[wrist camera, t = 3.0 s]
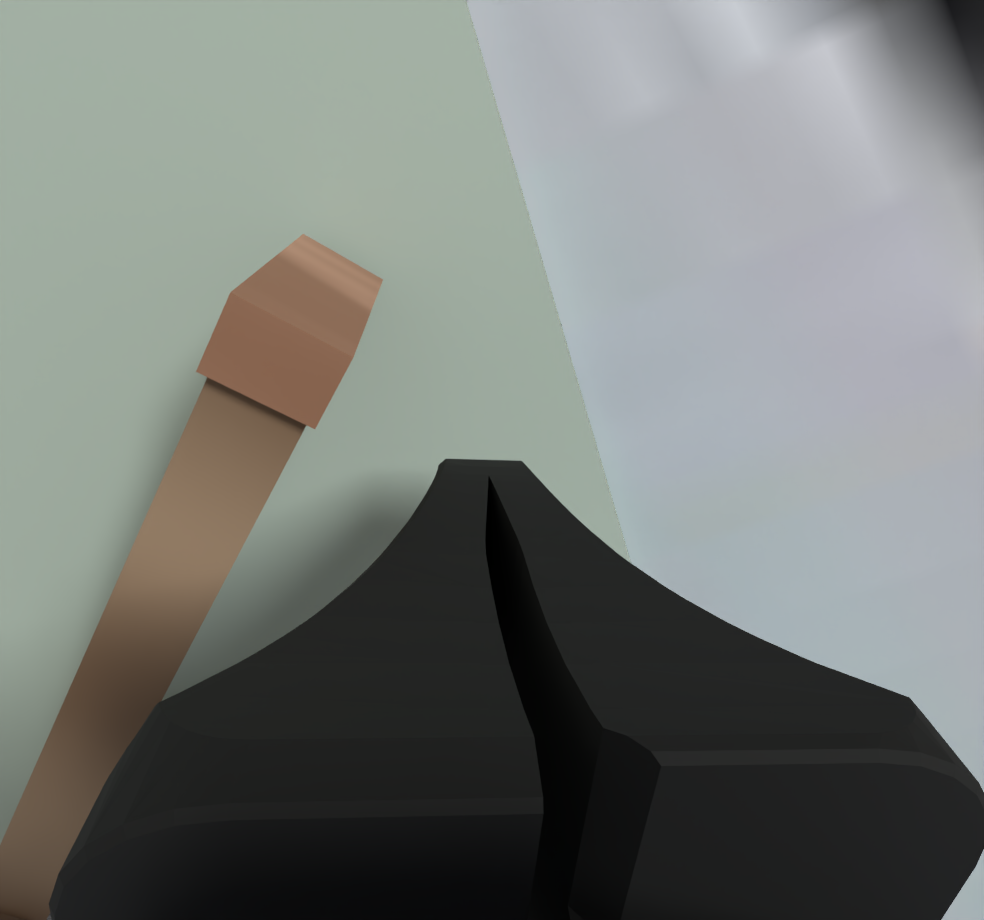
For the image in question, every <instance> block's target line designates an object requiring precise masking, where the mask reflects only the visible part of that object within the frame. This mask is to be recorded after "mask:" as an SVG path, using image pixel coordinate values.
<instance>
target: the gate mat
mask: <svg viewBox="0 0 984 920" xmlns="http://www.w3.org/2000/svg"><path fill="white" fill-rule="evenodd" d="M302 234H305V235H306V236H308V237H310V238H312V239H313V240H315V241H317V242H319V243H320V244H322V245H324V246H326V247H327V248H329V249H331V250H333V251H334V252H336V253H338V254H340V255H341V256H343V257H345V258H346V259H348V260H350V261H352V262H353V263H355V264H357V265H359V266H360V267H362V268H364V269H366V270H367V271H369V272H371V273H373V274H374V275H376V276H378V277H380V278H381V279H383V282H382V284H381V287H380V289H379V292H378V295H377V297H376V300H375V302H374V305H373V308H372V310H371V313H370V316H369V318H368V321H367V323H366V326H365V329H364V331H363V334H362V336H361V339H360V342H359V344H358V347H357V350H356V352H355V355H354V357H353V359H352V361H351V363H350V365H349V367H348V369H347V371H346V372H345V374H344V376H343V378H342V380H341V382H340V384H339V386H338V387H337V389H336V391H335V393H334V395H333V397H332V399H331V401H330V402H329V404H328V406H327V408H326V410H325V412H324V414H323V416H322V417H321V419H320V421H319V423H318V425H317V427H316V429H313V428H311V427H309V426H307V425H306V427H305V429H304V431H303V433H302V435H301V437H300V439H299V441H298V442H297V444H296V446H295V448H294V450H293V452H292V454H291V456H290V458H289V460H288V461H287V463H286V465H285V467H284V469H283V471H282V473H281V475H280V477H279V479H278V481H277V482H276V484H275V486H274V488H273V490H272V492H271V494H270V496H269V498H268V500H267V501H266V503H265V505H264V507H263V509H262V511H261V513H260V515H259V517H258V519H257V520H256V522H255V524H254V526H253V528H252V530H251V532H250V534H249V536H248V538H247V539H246V541H245V543H244V545H243V547H242V549H241V551H240V553H239V555H238V557H237V558H236V560H235V562H234V564H233V566H232V568H231V570H230V572H229V574H228V576H227V577H226V579H225V581H224V583H223V585H222V587H221V589H220V591H219V593H218V595H217V596H216V598H215V600H214V602H213V604H212V606H211V608H210V610H209V612H208V614H207V615H206V617H205V619H204V621H203V623H202V625H201V627H200V629H199V631H198V633H197V634H196V636H195V638H194V640H193V642H192V644H191V646H190V648H189V650H188V652H187V653H186V655H185V657H184V659H183V661H182V663H181V665H180V667H179V669H178V671H177V672H176V674H175V676H174V678H173V680H172V682H171V684H170V686H169V688H168V690H167V691H166V693H165V695H164V697H163V699H162V701H163V700H165V699H167V698H169V697H171V696H173V695H176V694H178V693H180V692H182V691H184V690H186V689H188V688H190V687H192V686H194V685H196V684H197V683H199V682H201V681H203V680H205V679H207V678H209V677H211V676H213V675H215V674H217V673H219V672H221V671H223V670H225V669H227V668H229V667H231V666H233V665H235V664H237V663H239V662H240V661H242V660H244V659H246V658H248V657H249V656H251V655H253V654H255V653H256V652H258V651H260V650H261V649H263V648H265V647H266V646H268V645H269V644H271V643H273V642H274V641H276V640H278V639H279V638H281V637H283V636H284V635H286V634H287V633H289V632H290V631H292V630H293V629H295V628H296V627H298V626H299V625H301V624H302V623H304V622H305V621H307V620H308V619H309V618H311V617H312V616H313V615H315V614H316V613H317V612H319V611H320V610H321V609H323V608H324V607H325V606H326V605H327V604H329V603H330V602H331V601H332V600H333V599H334V598H336V597H337V596H338V595H339V594H340V593H342V592H343V591H344V590H345V589H346V588H347V587H349V586H350V585H351V584H352V583H353V582H354V581H355V580H356V579H357V578H358V577H359V576H360V575H361V574H362V573H363V572H364V571H365V570H366V569H368V567H369V566H370V565H371V564H372V563H373V562H374V561H375V560H376V559H377V558H378V557H379V556H380V555H381V554H382V553H383V551H384V550H385V549H386V548H387V547H388V546H389V544H390V543H391V542H392V541H393V539H394V538H395V537H396V536H397V534H398V533H399V532H400V531H401V529H402V528H403V527H404V526H405V524H406V523H407V522H408V520H409V519H410V518H411V516H412V515H413V513H414V511H415V510H416V508H417V507H418V505H419V504H420V502H421V501H422V499H423V498H424V496H425V494H426V493H427V491H428V489H429V487H430V485H431V484H432V482H433V480H434V477H435V475H436V472H437V470H438V465H439V464H440V463H441V462H442V461H444V460H445V459H477V460H515V461H522V462H523V463H524V464H525V465H526V466H527V467H528V468H529V469H530V470H531V471H532V472H533V473H534V475H535V476H536V477H537V478H538V479H539V480H540V481H541V482H542V483H543V484H544V485H545V487H546V488H547V489H548V490H549V491H550V492H551V493H552V494H553V495H554V496H555V497H556V498H557V499H558V500H559V501H560V502H561V503H562V504H563V505H564V506H565V507H566V508H567V509H568V510H569V511H570V512H571V513H572V514H573V515H574V516H575V517H576V518H577V519H578V520H579V521H580V522H581V523H583V524H584V525H585V526H586V527H587V528H588V529H589V530H590V531H591V532H593V533H594V534H595V535H596V536H597V537H599V538H600V539H601V540H602V541H603V542H605V543H606V544H607V545H608V546H609V547H611V548H612V549H613V550H614V551H615V552H617V553H618V554H619V555H620V556H622V557H623V558H624V559H626V560H627V561H628V562H630V563H631V561H630V558H629V555H628V551H627V548H626V544H625V541H624V537H623V534H622V531H621V527H620V524H619V520H618V517H617V514H616V510H615V507H614V503H613V500H612V497H611V493H610V490H609V486H608V483H607V479H606V476H605V473H604V469H603V466H602V462H601V459H600V456H599V452H598V449H597V445H596V442H595V439H594V435H593V432H592V428H591V425H590V421H589V418H588V415H587V411H586V408H585V404H584V401H583V398H582V394H581V391H580V387H579V384H578V381H577V377H576V374H575V370H574V367H573V364H572V360H571V357H570V353H569V350H568V346H567V343H566V340H565V336H564V333H563V329H562V326H561V323H560V319H559V316H558V312H557V309H556V306H555V302H554V299H553V295H552V292H551V288H550V285H549V282H548V278H547V275H546V271H545V268H544V265H543V261H542V258H541V254H540V251H539V248H538V244H537V241H536V237H535V234H534V230H533V227H532V224H531V220H530V217H529V213H528V210H527V207H526V203H525V200H524V196H523V193H522V190H521V186H520V183H519V179H518V176H517V172H516V169H515V166H514V162H513V159H512V155H511V152H510V149H509V145H508V142H507V138H506V135H505V132H504V128H503V125H502V121H501V118H500V115H499V111H498V108H497V104H496V101H495V97H494V94H493V91H492V87H491V84H490V80H489V77H488V74H487V70H486V67H485V63H484V60H483V57H482V53H481V50H480V46H479V43H478V39H477V36H476V33H475V29H474V26H473V22H472V19H471V16H470V12H469V9H468V5H467V2H466V0H0V844H1V842H2V840H3V837H4V835H5V833H6V831H7V828H8V826H9V824H10V821H11V819H12V817H13V815H14V812H15V810H16V808H17V806H18V803H19V801H20V799H21V797H22V794H23V792H24V790H25V788H26V785H27V783H28V781H29V779H30V776H31V774H32V772H33V770H34V767H35V765H36V763H37V761H38V758H39V756H40V754H41V752H42V749H43V747H44V745H45V742H46V740H47V738H48V736H49V733H50V731H51V729H52V727H53V724H54V722H55V720H56V718H57V715H58V713H59V711H60V709H61V706H62V704H63V702H64V700H65V697H66V695H67V693H68V691H69V688H70V686H71V684H72V682H73V679H74V677H75V675H76V673H77V670H78V668H79V666H80V663H81V661H82V659H83V657H84V654H85V652H86V650H87V648H88V645H89V643H90V641H91V639H92V636H93V634H94V632H95V630H96V627H97V625H98V623H99V621H100V618H101V616H102V614H103V612H104V609H105V607H106V605H107V603H108V600H109V598H110V596H111V594H112V591H113V589H114V587H115V584H116V582H117V580H118V578H119V575H120V573H121V571H122V569H123V566H124V564H125V562H126V560H127V557H128V555H129V553H130V551H131V548H132V546H133V544H134V542H135V539H136V537H137V535H138V533H139V530H140V528H141V526H142V524H143V521H144V519H145V517H146V514H147V512H148V510H149V508H150V505H151V503H152V501H153V499H154V496H155V494H156V492H157V490H158V487H159V485H160V483H161V481H162V478H163V476H164V474H165V472H166V469H167V467H168V465H169V463H170V460H171V458H172V456H173V454H174V451H175V449H176V447H177V445H178V442H179V440H180V438H181V435H182V433H183V431H184V429H185V426H186V424H187V422H188V420H189V417H190V415H191V413H192V411H193V408H194V406H195V404H196V402H197V399H198V397H199V395H200V393H201V390H202V388H203V386H204V384H205V381H206V379H207V377H206V376H204V375H202V374H200V373H198V372H196V370H197V368H198V366H199V363H200V361H201V359H202V356H203V354H204V352H205V349H206V347H207V345H208V343H209V340H210V338H211V336H212V333H213V331H214V329H215V326H216V324H217V322H218V319H219V317H220V315H221V313H222V310H223V308H224V306H225V303H226V301H227V299H228V296H229V294H230V292H231V291H233V290H234V289H235V288H236V287H238V286H239V285H240V284H241V283H243V282H244V281H245V280H246V279H248V278H249V277H250V276H251V275H253V274H254V273H255V272H256V271H257V270H259V269H260V268H261V267H262V266H264V265H265V264H266V263H267V262H269V261H270V260H271V259H272V258H274V257H275V256H276V255H277V254H279V253H280V252H281V251H282V250H284V249H285V248H286V247H287V246H289V245H290V244H291V243H292V242H294V241H295V240H296V239H297V238H299V237H300V236H301V235H302Z"/></svg>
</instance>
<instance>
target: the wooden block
mask: <svg viewBox="0 0 984 920" xmlns="http://www.w3.org/2000/svg"><path fill="white" fill-rule="evenodd" d="M382 282H383V279H381V278H380V277H378V276H376V275H374V274H373V273H371V272H369V271H367V270H366V269H364V268H362V267H360V266H359V265H357V264H355V263H353V262H352V261H350V260H348V259H346V258H345V257H343V256H341V255H340V254H338V253H336V252H334V251H333V250H331V249H329V248H327V247H326V246H324V245H322V244H320V243H319V242H317V241H315V240H313V239H312V238H310V237H308V236H306V235H305V234H302V235H301V236H300V237H299V238H297V239H296V240H295V241H294V242H292V243H291V244H290V245H289V246H287V247H286V248H285V249H284V250H282V251H281V252H280V253H279V254H277V255H276V256H275V257H274V258H272V259H271V260H270V261H269V262H267V263H266V264H265V265H264V266H262V267H261V268H260V269H259V270H257V271H256V272H255V273H254V274H253V275H251V276H250V277H249V278H248V279H246V280H245V281H244V282H243V283H241V284H240V285H239V286H238V287H236V288H235V289H234V290H233V291H231V292H230V294H229V296H228V299H227V301H226V303H225V306H224V308H223V310H222V313H221V315H220V317H219V319H218V322H217V324H216V326H215V329H214V331H213V333H212V336H211V338H210V340H209V343H208V345H207V347H206V349H205V352H204V354H203V356H202V359H201V361H200V363H199V366H198V368H197V370H196V372H198V373H200V374H202V375H204V376H206V377H207V379H206V381H205V384H204V386H203V388H202V390H201V393H200V395H199V397H198V399H197V402H196V404H195V406H194V408H193V411H192V413H191V415H190V417H189V420H188V422H187V424H186V426H185V429H184V431H183V433H182V435H181V438H180V440H179V442H178V445H177V447H176V449H175V451H174V454H173V456H172V458H171V460H170V463H169V465H168V467H167V469H166V472H165V474H164V476H163V478H162V481H161V483H160V485H159V487H158V490H157V492H156V494H155V496H154V499H153V501H152V503H151V505H150V508H149V510H148V512H147V514H146V517H145V519H144V521H143V524H142V526H141V528H140V530H139V533H138V535H137V537H136V539H135V542H134V544H133V546H132V548H131V551H130V553H129V555H128V557H127V560H126V562H125V564H124V566H123V569H122V571H121V573H120V575H119V578H118V580H117V582H116V584H115V587H114V589H113V591H112V594H111V596H110V598H109V600H108V603H107V605H106V607H105V609H104V612H103V614H102V616H101V618H100V621H99V623H98V625H97V627H96V630H95V632H94V634H93V636H92V639H91V641H90V643H89V645H88V648H87V650H86V652H85V654H84V657H83V659H82V661H81V663H80V666H79V668H78V670H77V673H76V675H75V677H74V679H73V682H72V684H71V686H70V688H69V691H68V693H67V695H66V697H65V700H64V702H63V704H62V706H61V709H60V711H59V713H58V715H57V718H56V720H55V722H54V724H53V727H52V729H51V731H50V733H49V736H48V738H47V740H46V742H45V745H44V747H43V749H42V752H41V754H40V756H39V758H38V761H37V763H36V765H35V767H34V770H33V772H32V774H31V776H30V779H29V781H28V783H27V785H26V788H25V790H24V792H23V794H22V797H21V799H20V801H19V803H18V806H17V808H16V810H15V812H14V815H13V817H12V819H11V821H10V824H9V826H8V828H7V831H6V833H5V835H4V837H3V840H2V842H1V844H0V920H46V919H47V918H48V916H49V914H50V909H49V901H50V898H51V895H52V892H53V889H54V886H55V883H56V880H57V877H58V874H59V872H60V870H61V868H62V866H63V864H64V862H65V860H66V858H67V856H68V854H69V852H70V850H71V848H72V846H73V844H74V842H75V841H76V839H77V837H78V835H79V833H80V831H81V829H82V827H83V825H84V823H85V821H86V819H87V817H88V815H89V813H90V811H91V809H92V807H93V805H94V803H95V801H96V799H97V798H98V796H99V794H100V792H101V790H102V788H103V786H104V784H105V782H106V780H107V779H108V777H109V775H110V774H111V772H112V770H113V769H114V767H115V766H116V764H117V763H118V761H119V759H120V758H121V756H122V755H123V753H124V752H125V750H126V748H127V747H128V746H129V744H130V743H131V741H132V740H133V739H134V737H135V736H136V734H137V733H138V731H139V730H140V728H141V727H142V725H143V724H144V722H145V721H146V719H147V717H148V716H149V714H150V713H151V711H152V710H153V708H154V707H155V705H156V704H157V703H158V702H160V701H162V699H163V697H164V695H165V693H166V691H167V690H168V688H169V686H170V684H171V682H172V680H173V678H174V676H175V674H176V672H177V671H178V669H179V667H180V665H181V663H182V661H183V659H184V657H185V655H186V653H187V652H188V650H189V648H190V646H191V644H192V642H193V640H194V638H195V636H196V634H197V633H198V631H199V629H200V627H201V625H202V623H203V621H204V619H205V617H206V615H207V614H208V612H209V610H210V608H211V606H212V604H213V602H214V600H215V598H216V596H217V595H218V593H219V591H220V589H221V587H222V585H223V583H224V581H225V579H226V577H227V576H228V574H229V572H230V570H231V568H232V566H233V564H234V562H235V560H236V558H237V557H238V555H239V553H240V551H241V549H242V547H243V545H244V543H245V541H246V539H247V538H248V536H249V534H250V532H251V530H252V528H253V526H254V524H255V522H256V520H257V519H258V517H259V515H260V513H261V511H262V509H263V507H264V505H265V503H266V501H267V500H268V498H269V496H270V494H271V492H272V490H273V488H274V486H275V484H276V482H277V481H278V479H279V477H280V475H281V473H282V471H283V469H284V467H285V465H286V463H287V461H288V460H289V458H290V456H291V454H292V452H293V450H294V448H295V446H296V444H297V442H298V441H299V439H300V437H301V435H302V433H303V431H304V429H305V427H306V425H307V426H309V427H311V428H313V429H316V427H317V425H318V423H319V421H320V419H321V417H322V416H323V414H324V412H325V410H326V408H327V406H328V404H329V402H330V401H331V399H332V397H333V395H334V393H335V391H336V389H337V387H338V386H339V384H340V382H341V380H342V378H343V376H344V374H345V372H346V371H347V369H348V367H349V365H350V363H351V361H352V359H353V357H354V355H355V352H356V350H357V347H358V344H359V342H360V339H361V336H362V334H363V331H364V329H365V326H366V323H367V321H368V318H369V316H370V313H371V310H372V308H373V305H374V302H375V300H376V297H377V295H378V292H379V289H380V287H381V284H382Z"/></svg>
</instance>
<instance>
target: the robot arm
mask: <svg viewBox="0 0 984 920" xmlns="http://www.w3.org/2000/svg"><path fill="white" fill-rule="evenodd" d="M983 849H984V792H983V790H982V788H981V786H980V784H979V782H978V781H977V780H976V779H975V777H974V776H973V775H972V774H971V772H970V771H969V770H968V769H967V767H966V766H965V765H964V764H963V763H962V761H961V760H960V759H959V758H958V756H957V755H956V754H955V753H954V751H953V750H952V749H951V748H950V746H949V745H948V744H947V743H946V742H945V740H944V739H943V738H942V737H941V735H940V734H939V733H938V732H937V730H936V729H935V728H934V727H933V725H932V724H931V723H930V722H929V720H928V719H927V718H926V717H925V716H924V714H923V713H922V712H921V711H920V710H919V708H918V707H917V706H916V705H915V704H914V703H913V701H912V700H911V699H910V698H909V697H906V696H904V695H901V694H898V693H895V692H893V691H890V690H887V689H885V688H882V687H879V686H876V685H874V684H871V683H868V682H866V681H863V680H860V679H858V678H855V677H852V676H849V675H847V674H844V673H841V672H839V671H836V670H833V669H831V668H828V667H825V666H822V665H820V664H817V663H814V662H812V661H810V660H807V659H805V658H802V657H800V656H798V655H796V654H793V653H791V652H789V651H787V650H785V649H782V648H780V647H778V646H776V645H773V644H771V643H769V642H767V641H764V640H762V639H760V638H758V637H756V636H754V635H752V634H750V633H747V632H745V631H743V630H741V629H739V628H737V627H735V626H733V625H731V624H729V623H727V622H725V621H724V620H722V619H720V618H718V617H716V616H714V615H713V614H711V613H709V612H707V611H706V610H704V609H702V608H700V607H698V606H697V605H695V604H693V603H691V602H689V601H688V600H686V599H684V598H682V597H681V596H679V595H678V594H676V593H674V592H673V591H671V590H669V589H668V588H666V587H665V586H663V585H662V584H660V583H659V582H657V581H656V580H654V579H653V578H651V577H650V576H648V575H647V574H646V573H644V572H643V571H641V570H640V569H638V568H637V567H635V566H634V565H632V564H631V563H630V562H628V561H627V560H626V559H624V558H623V557H622V556H620V555H619V554H618V553H617V552H615V551H614V550H613V549H612V548H611V547H609V546H608V545H607V544H606V543H605V542H603V541H602V540H601V539H600V538H599V537H597V536H596V535H595V534H594V533H593V532H591V531H590V530H589V529H588V528H587V527H586V526H585V525H584V524H583V523H581V522H580V521H579V520H578V519H577V518H576V517H575V516H574V515H573V514H572V513H571V512H570V511H569V510H568V509H567V508H566V507H565V506H564V505H563V504H562V503H561V502H560V501H559V500H558V499H557V498H556V497H555V496H554V495H553V494H552V493H551V492H550V491H549V490H548V489H547V488H546V487H545V485H544V484H543V483H542V482H541V481H540V480H539V479H538V478H537V477H536V476H535V475H534V473H533V472H532V471H531V470H530V469H529V468H528V467H527V466H526V465H525V464H524V463H523V462H522V461H515V460H477V459H445V460H444V461H442V462H441V463H440V464H439V465H438V470H437V472H436V475H435V477H434V480H433V482H432V484H431V485H430V487H429V489H428V491H427V493H426V494H425V496H424V498H423V499H422V501H421V502H420V504H419V505H418V507H417V508H416V510H415V511H414V513H413V515H412V516H411V518H410V519H409V520H408V522H407V523H406V524H405V526H404V527H403V528H402V529H401V531H400V532H399V533H398V534H397V536H396V537H395V538H394V539H393V541H392V542H391V543H390V544H389V546H388V547H387V548H386V549H385V550H384V551H383V553H382V554H381V555H380V556H379V557H378V558H377V559H376V560H375V561H374V562H373V563H372V564H371V565H370V566H369V567H368V569H366V570H365V571H364V572H363V573H362V574H361V575H360V576H359V577H358V578H357V579H356V580H355V581H354V582H353V583H352V584H351V585H350V586H349V587H347V588H346V589H345V590H344V591H343V592H342V593H340V594H339V595H338V596H337V597H336V598H334V599H333V600H332V601H331V602H330V603H329V604H327V605H326V606H325V607H324V608H323V609H321V610H320V611H319V612H317V613H316V614H315V615H313V616H312V617H311V618H309V619H308V620H307V621H305V622H304V623H302V624H301V625H299V626H298V627H296V628H295V629H293V630H292V631H290V632H289V633H287V634H286V635H284V636H283V637H281V638H279V639H278V640H276V641H274V642H273V643H271V644H269V645H268V646H266V647H265V648H263V649H261V650H260V651H258V652H256V653H255V654H253V655H251V656H249V657H248V658H246V659H244V660H242V661H240V662H239V663H237V664H235V665H233V666H231V667H229V668H227V669H225V670H223V671H221V672H219V673H217V674H215V675H213V676H211V677H209V678H207V679H205V680H203V681H201V682H199V683H197V684H196V685H194V686H192V687H190V688H188V689H186V690H184V691H182V692H180V693H178V694H176V695H173V696H171V697H169V698H167V699H165V700H163V701H160V702H158V703H157V704H156V705H155V707H154V708H153V710H152V711H151V713H150V714H149V716H148V717H147V719H146V721H145V722H144V724H143V725H142V727H141V728H140V730H139V731H138V733H137V734H136V736H135V737H134V739H133V740H132V741H131V743H130V744H129V746H128V747H127V748H126V750H125V752H124V753H123V755H122V756H121V758H120V759H119V761H118V763H117V764H116V766H115V767H114V769H113V770H112V772H111V774H110V775H109V777H108V779H107V780H106V782H105V784H104V786H103V788H102V790H101V792H100V794H99V796H98V798H97V799H96V801H95V803H94V805H93V807H92V809H91V811H90V813H89V815H88V817H87V819H86V821H85V823H84V825H83V827H82V829H81V831H80V833H79V835H78V837H77V839H76V841H75V842H74V844H73V846H72V848H71V850H70V852H69V854H68V856H67V858H66V860H65V862H64V864H63V866H62V868H61V870H60V872H59V874H58V877H57V880H56V883H55V886H54V889H53V892H52V895H51V898H50V901H49V909H50V914H51V920H941V919H942V917H943V916H944V914H945V913H946V911H947V910H948V908H949V907H950V905H951V904H952V902H953V900H954V899H955V897H956V896H957V894H958V893H959V891H960V890H961V888H962V887H963V885H964V884H965V882H966V881H967V879H968V877H969V876H970V874H971V873H972V871H973V870H974V868H975V867H976V865H977V862H978V860H979V858H980V856H981V854H982V851H983Z"/></svg>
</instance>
